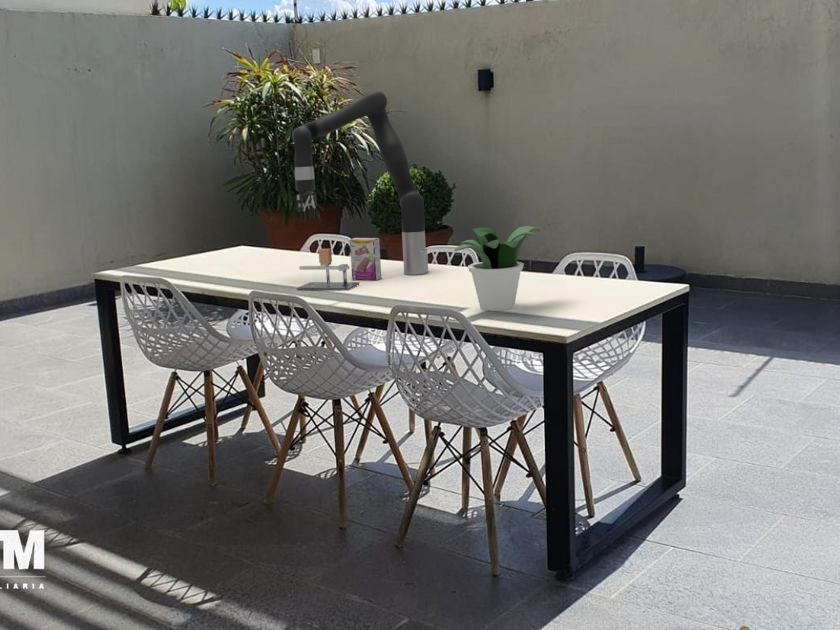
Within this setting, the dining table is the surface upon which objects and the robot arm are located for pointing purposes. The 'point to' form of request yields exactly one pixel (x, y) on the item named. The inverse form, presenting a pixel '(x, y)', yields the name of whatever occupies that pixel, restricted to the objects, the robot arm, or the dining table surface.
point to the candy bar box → (365, 258)
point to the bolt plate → (332, 285)
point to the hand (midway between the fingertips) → (307, 219)
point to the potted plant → (496, 267)
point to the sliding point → (325, 260)
